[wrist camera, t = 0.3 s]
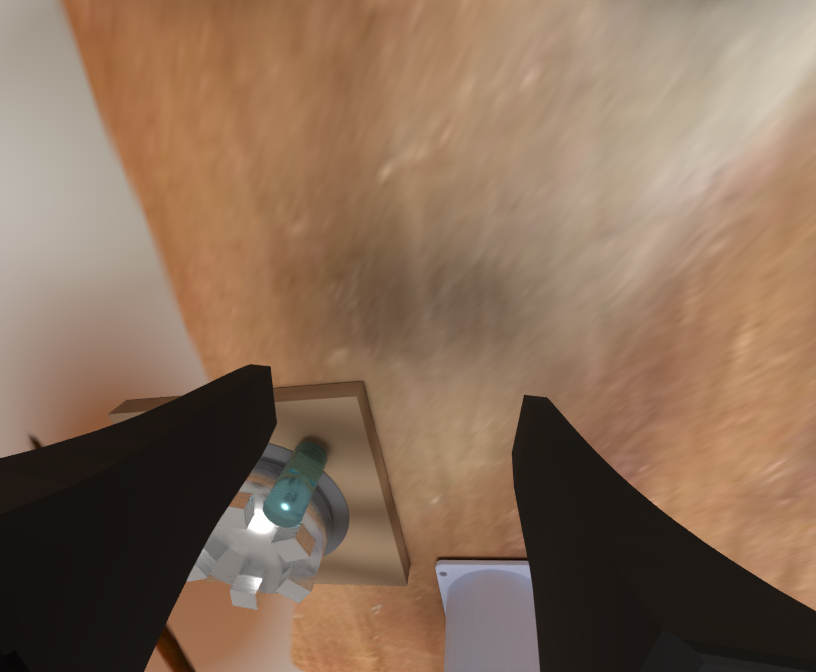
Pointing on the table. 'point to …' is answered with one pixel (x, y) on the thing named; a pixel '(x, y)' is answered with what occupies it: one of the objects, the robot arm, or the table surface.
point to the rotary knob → (271, 531)
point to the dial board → (334, 478)
